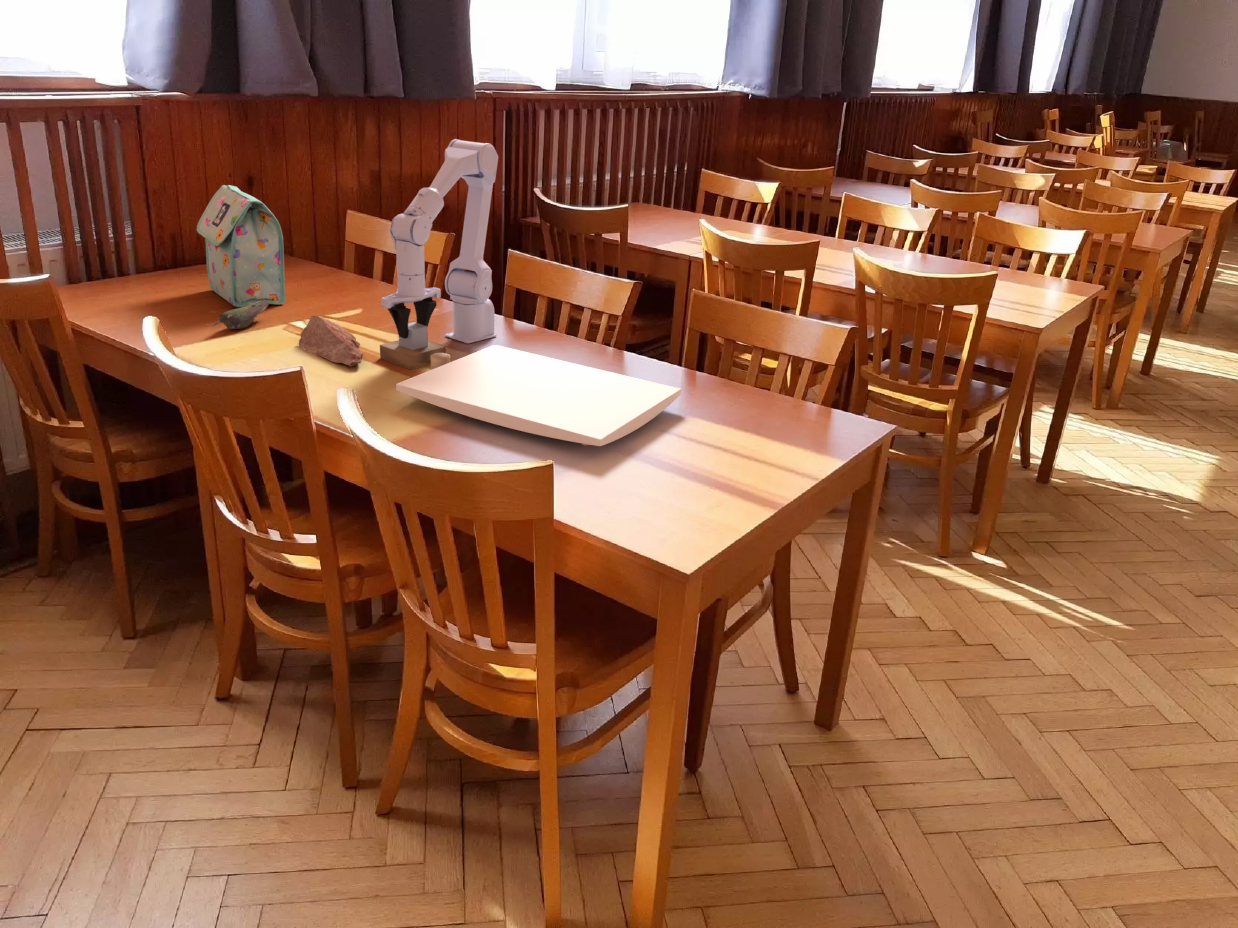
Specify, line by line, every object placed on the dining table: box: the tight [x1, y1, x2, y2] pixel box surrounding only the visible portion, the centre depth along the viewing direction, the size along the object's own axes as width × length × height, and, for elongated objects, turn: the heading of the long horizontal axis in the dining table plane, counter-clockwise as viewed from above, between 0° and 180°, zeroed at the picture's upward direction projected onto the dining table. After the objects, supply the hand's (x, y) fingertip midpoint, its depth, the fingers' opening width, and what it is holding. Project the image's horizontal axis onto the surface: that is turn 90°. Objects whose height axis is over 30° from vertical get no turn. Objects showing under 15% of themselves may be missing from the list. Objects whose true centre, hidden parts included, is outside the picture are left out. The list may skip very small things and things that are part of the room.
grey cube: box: [398, 321, 429, 350], centre depth 212 cm, size 4×4×4 cm
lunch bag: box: [196, 184, 286, 308], centre depth 245 cm, size 23×16×27 cm
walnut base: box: [379, 339, 447, 370], centre depth 213 cm, size 10×10×3 cm
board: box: [395, 344, 682, 447], centre depth 191 cm, size 45×32×5 cm
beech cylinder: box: [430, 352, 451, 370], centre depth 203 cm, size 4×4×5 cm
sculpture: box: [210, 298, 270, 330], centre depth 226 cm, size 5×19×5 cm, turn 158°
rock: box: [298, 315, 364, 367], centre depth 215 cm, size 10×24×10 cm
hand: (412, 335), depth 212 cm, fingers open, 5 cm apart
